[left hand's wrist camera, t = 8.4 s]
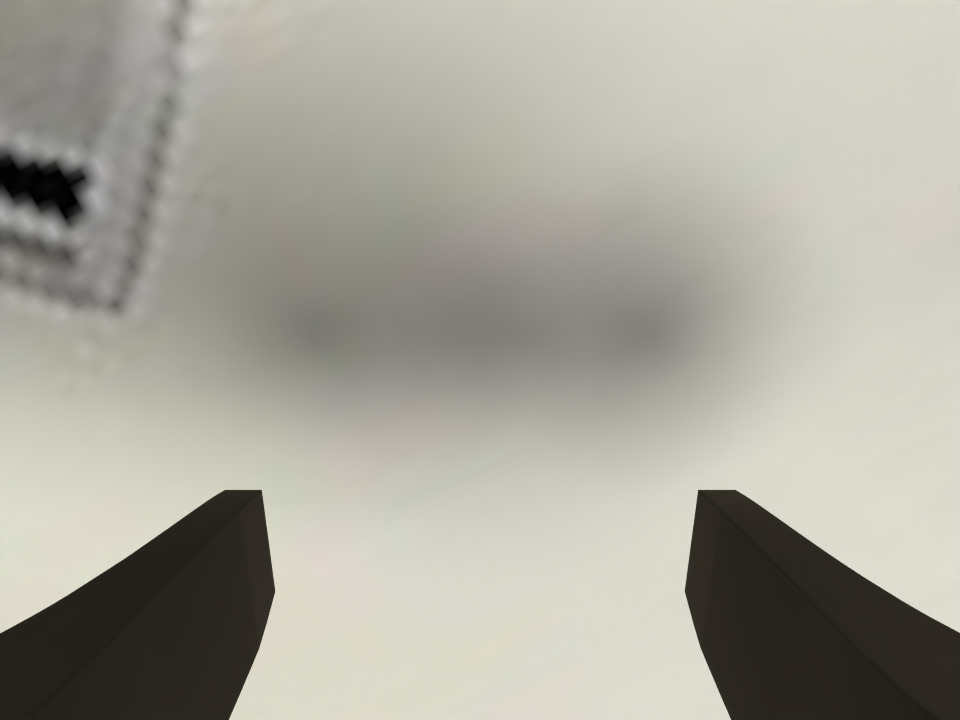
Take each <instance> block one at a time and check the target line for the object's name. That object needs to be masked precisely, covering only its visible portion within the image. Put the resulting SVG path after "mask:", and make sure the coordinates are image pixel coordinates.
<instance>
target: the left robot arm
mask: <svg viewBox="0 0 960 720" xmlns="http://www.w3.org/2000/svg"><path fill="white" fill-rule="evenodd" d="M274 594H275V586H274V579H273V571H272V564H271V556H270V549H269V541H268V534H267V526H266V519H265V511H264V504H263V496H262V490H224V491H223V492H221V493H219V494H218V495H216V496H214V497H213V498H211V499H210V500H208V501H207V502H205V503H204V504H202V505H201V506H199V507H198V508H197V509H195V510H194V511H192V512H191V513H189V514H188V515H187V516H185V517H184V518H182V519H181V520H180V521H178V522H177V523H175V524H174V525H173V526H171V527H170V528H168V529H167V530H165V531H164V532H163V533H161V534H160V535H158V536H157V537H155V538H154V539H153V540H151V541H150V542H148V543H147V544H145V545H144V546H143V547H141V548H140V549H138V550H137V551H135V552H134V553H133V554H131V555H130V556H128V557H127V558H125V559H124V560H122V561H121V562H119V563H117V564H116V565H114V566H113V567H111V568H110V569H108V570H107V571H105V572H103V573H102V574H100V575H99V576H97V577H96V578H94V579H93V580H91V581H89V582H88V583H86V584H85V585H83V586H82V587H80V588H78V589H77V590H75V591H74V592H72V593H71V594H69V595H68V596H66V597H64V598H63V599H61V600H59V601H58V602H56V603H54V604H53V605H51V606H49V607H47V608H46V609H44V610H42V611H40V612H39V613H37V614H35V615H33V616H32V617H30V618H28V619H26V620H24V621H22V622H21V623H19V624H17V625H15V626H13V627H11V628H10V629H8V630H6V631H4V632H2V633H0V720H229V718H230V716H231V713H232V711H233V709H234V706H235V704H236V702H237V700H238V697H239V695H240V693H241V690H242V688H243V685H244V683H245V681H246V678H247V676H248V674H249V671H250V669H251V667H252V664H253V662H254V659H255V657H256V655H257V652H258V650H259V647H260V644H261V640H262V637H263V634H264V630H265V627H266V623H267V620H268V616H269V612H270V609H271V605H272V601H273V598H274ZM685 594H686V598H687V601H688V605H689V609H690V612H691V616H692V620H693V623H694V627H695V630H696V634H697V637H698V640H699V644H700V647H701V650H702V652H703V655H704V657H705V659H706V662H707V664H708V667H709V669H710V671H711V674H712V676H713V678H714V681H715V683H716V685H717V688H718V690H719V693H720V695H721V697H722V700H723V702H724V704H725V706H726V709H727V711H728V713H729V716H730V718H731V720H960V633H959V632H957V631H955V630H953V629H951V628H949V627H948V626H946V625H944V624H942V623H940V622H938V621H936V620H934V619H933V618H931V617H929V616H927V615H925V614H924V613H922V612H920V611H918V610H917V609H915V608H913V607H911V606H910V605H908V604H906V603H905V602H903V601H901V600H900V599H898V598H896V597H895V596H893V595H892V594H890V593H888V592H887V591H885V590H884V589H882V588H880V587H879V586H877V585H875V584H874V583H872V582H871V581H869V580H867V579H866V578H864V577H863V576H861V575H860V574H858V573H856V572H855V571H853V570H852V569H850V568H849V567H847V566H846V565H844V564H843V563H841V562H840V561H838V560H837V559H835V558H834V557H832V556H831V555H829V554H828V553H826V552H825V551H824V550H822V549H821V548H819V547H818V546H816V545H815V544H813V543H812V542H811V541H809V540H808V539H806V538H805V537H803V536H802V535H801V534H799V533H798V532H796V531H795V530H794V529H792V528H791V527H789V526H788V525H786V524H785V523H784V522H782V521H781V520H779V519H778V518H777V517H775V516H774V515H772V514H771V513H770V512H768V511H767V510H765V509H764V508H762V507H761V506H760V505H758V504H757V503H755V502H754V501H752V500H751V499H749V498H748V497H746V496H745V495H743V494H741V493H740V492H738V491H736V490H698V496H697V504H696V511H695V519H694V526H693V534H692V541H691V549H690V556H689V564H688V571H687V579H686V586H685Z"/></svg>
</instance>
